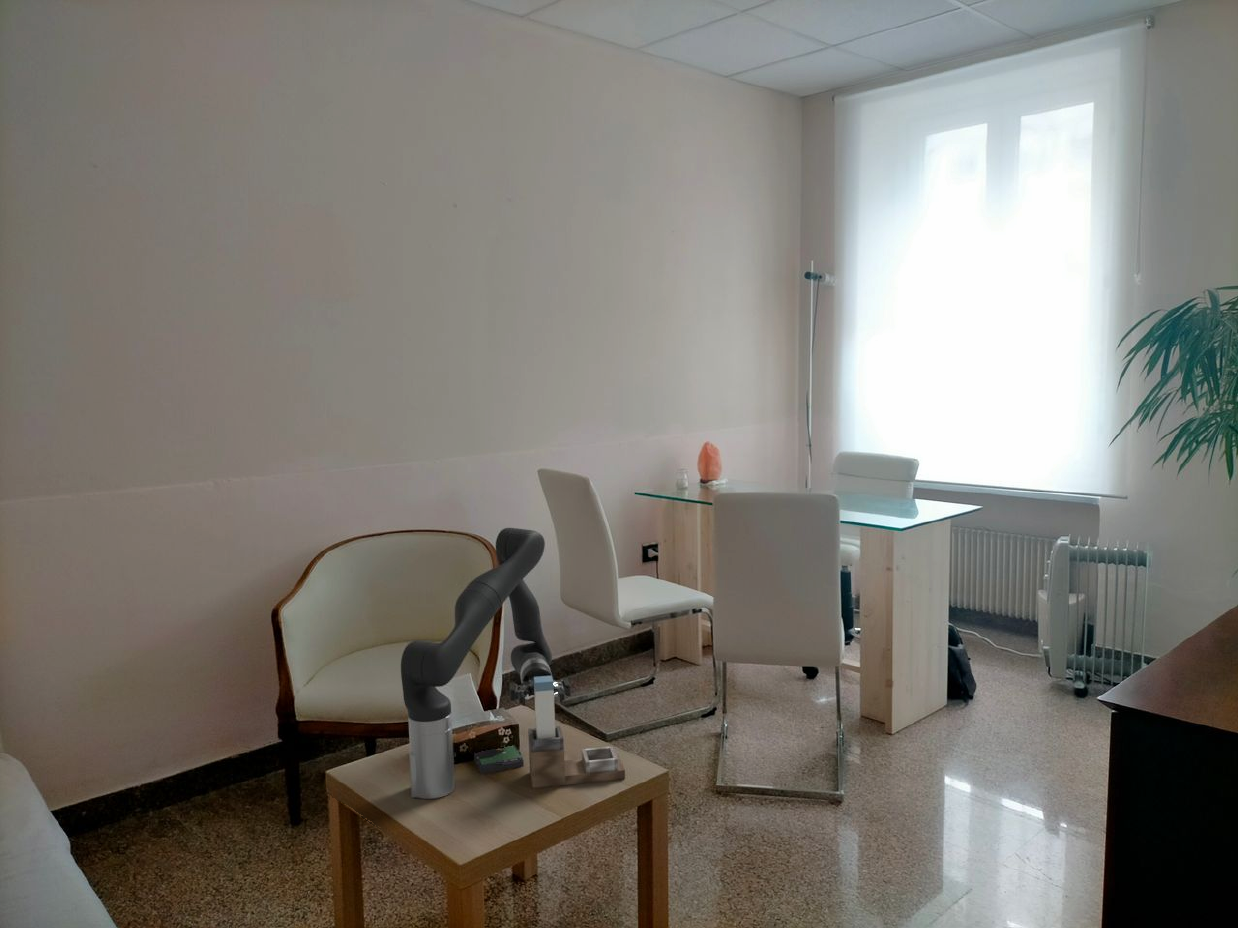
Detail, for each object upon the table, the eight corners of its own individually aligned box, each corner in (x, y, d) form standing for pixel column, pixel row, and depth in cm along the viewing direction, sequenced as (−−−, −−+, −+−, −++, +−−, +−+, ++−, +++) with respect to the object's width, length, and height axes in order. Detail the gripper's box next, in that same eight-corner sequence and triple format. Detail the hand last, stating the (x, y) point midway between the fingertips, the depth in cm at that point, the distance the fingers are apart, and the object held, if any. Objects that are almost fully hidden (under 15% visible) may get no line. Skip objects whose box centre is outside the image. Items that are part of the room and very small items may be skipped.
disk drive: (466, 752, 226) (481, 776, 213) (466, 741, 226) (480, 764, 212) (508, 744, 230) (525, 767, 217) (507, 733, 230) (524, 755, 216)
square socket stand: (532, 787, 205) (530, 741, 204) (529, 772, 213) (528, 727, 212) (625, 778, 208) (623, 733, 207) (619, 763, 216) (617, 719, 215)
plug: (537, 748, 206) (535, 682, 205) (536, 741, 210) (533, 676, 209) (555, 746, 207) (553, 681, 205) (554, 739, 211) (551, 675, 209)
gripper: (506, 664, 227) (510, 686, 211) (565, 659, 229) (573, 681, 213) (507, 694, 227) (511, 718, 212) (566, 689, 230) (574, 713, 214)
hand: (542, 699), depth 212 cm, fingers open, 8 cm apart
